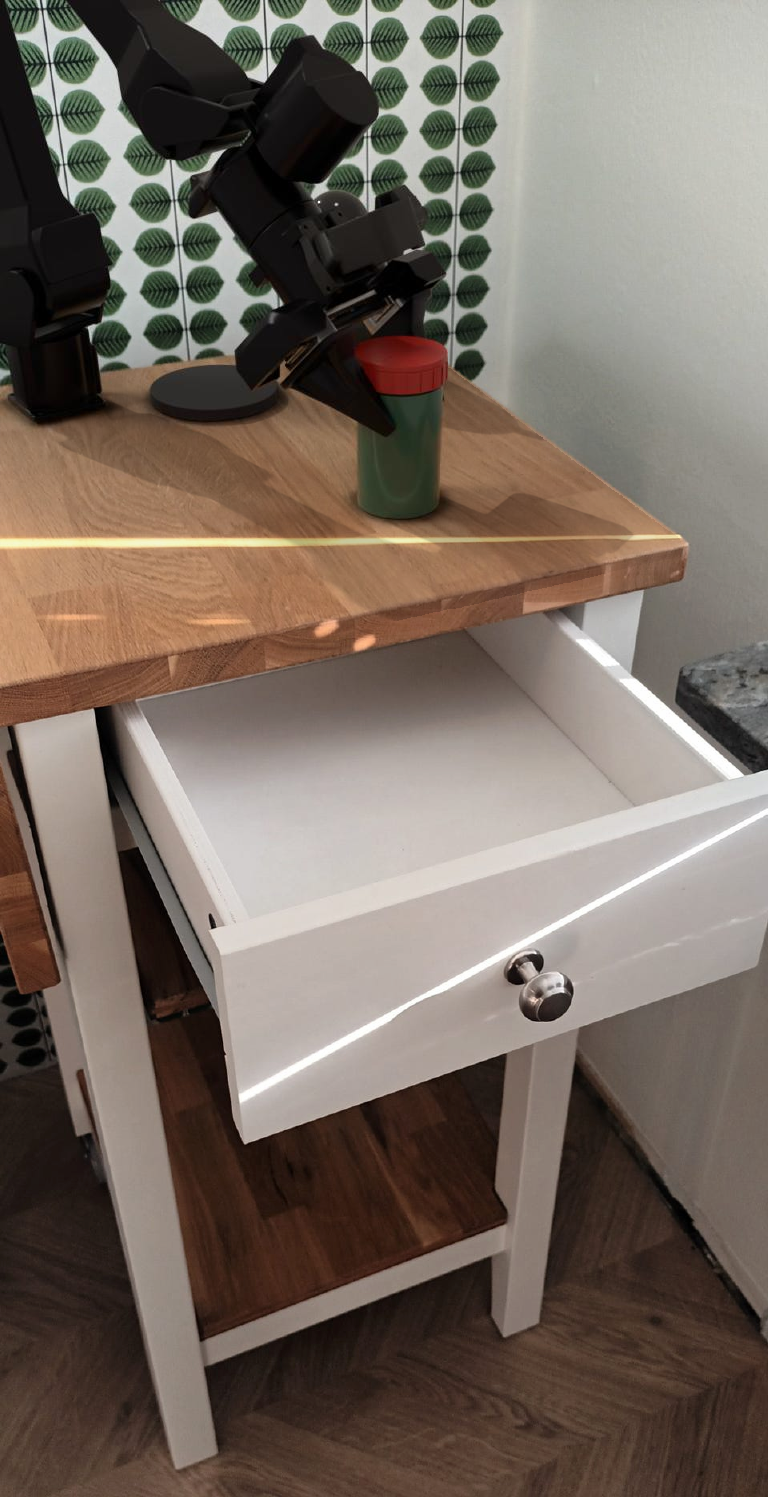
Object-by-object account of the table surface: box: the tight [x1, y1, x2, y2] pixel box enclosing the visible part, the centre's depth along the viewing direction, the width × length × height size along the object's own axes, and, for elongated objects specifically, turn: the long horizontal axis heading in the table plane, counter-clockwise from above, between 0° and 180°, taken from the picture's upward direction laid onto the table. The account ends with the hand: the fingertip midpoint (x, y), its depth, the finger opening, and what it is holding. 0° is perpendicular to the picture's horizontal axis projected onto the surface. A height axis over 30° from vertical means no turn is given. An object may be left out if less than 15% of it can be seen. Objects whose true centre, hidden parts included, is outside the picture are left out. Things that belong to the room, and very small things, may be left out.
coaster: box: [149, 364, 280, 422], centre depth 108 cm, size 11×11×1 cm
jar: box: [356, 384, 444, 520], centre depth 88 cm, size 6×6×11 cm
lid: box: [355, 336, 449, 395], centre depth 85 cm, size 6×6×2 cm
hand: (415, 418), depth 87 cm, fingers closed on jar, lid, 6 cm apart
